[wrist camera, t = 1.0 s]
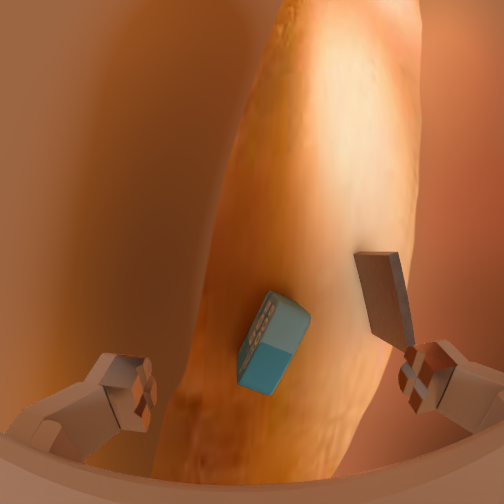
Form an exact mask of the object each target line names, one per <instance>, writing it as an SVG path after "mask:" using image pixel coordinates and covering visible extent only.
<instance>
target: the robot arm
mask: <svg viewBox="0 0 504 504" xmlns="http://www.w3.org/2000/svg"><path fill="white" fill-rule="evenodd" d="M404 358H405V361H406V362H405V363H404V364H403V365H402V367H401V368H400V371H399V375H398V381H399V386H400V389H401V391H402V392H403V394H405V395H407V396H409V401H408V402H409V404H410V405H411V407H412V409H413V410H414V412H415V413H416V414H421V413H425V412H428V411H432V410H436V409H437V411H438V412H440V413H441V414H443V415H444V416H446V417H448V418H449V419H451V420H452V421H454V422H455V423H457V424H459V425H460V426H462V427H463V428H465V429H467V430H468V431H470V432H471V433H473V434H474V435H472V436H470V437H468V438H466V439H463V440H461V441H459V442H456V443H454V444H452V445H449V446H447V447H444V448H441V449H439V450H436V451H433V452H431V453H428V454H425V455H422V456H419V457H416V458H413V459H410V460H407V461H403V462H400V463H397V464H393V465H389V466H386V467H382V468H378V469H374V470H370V471H365V472H361V473H356V474H351V475H346V476H340V477H335V478H328V479H322V480H314V481H306V482H297V483H286V484H272V485H207V484H192V483H181V482H172V481H164V480H157V479H150V478H144V477H138V476H132V475H127V474H122V473H118V472H113V471H109V470H105V469H101V468H97V467H93V466H89V465H86V464H85V463H84V462H83V461H84V460H85V459H86V458H88V457H89V456H90V455H92V454H93V453H94V452H95V451H96V450H97V449H99V448H100V447H101V446H102V445H104V444H105V443H106V442H107V441H109V439H111V438H112V437H113V436H115V435H116V434H117V433H118V432H119V431H120V429H122V430H130V431H138V432H146V431H147V428H148V425H149V422H150V419H151V415H150V412H149V411H150V410H151V409H152V408H154V406H155V403H156V397H157V389H156V382H155V379H154V378H153V377H152V376H151V375H150V373H151V371H152V365H151V361H150V359H149V358H148V357H140V356H130V355H121V354H113V353H103V354H101V356H100V357H99V359H98V360H97V362H96V363H95V365H94V366H93V368H92V370H91V371H90V373H89V374H88V376H87V377H86V379H85V380H84V382H77V383H75V384H73V385H72V386H69V387H68V388H65V389H64V390H61V391H59V392H57V393H55V394H53V395H51V396H49V397H47V398H45V399H43V400H41V401H39V402H37V403H34V404H32V405H30V406H28V407H26V408H24V409H22V410H21V412H20V413H19V415H18V416H17V417H16V419H15V420H14V421H13V423H12V424H11V426H10V427H9V429H8V430H7V431H6V433H5V434H3V433H1V432H0V504H504V373H502V372H500V371H497V370H494V369H491V368H488V367H486V366H483V365H480V364H478V363H475V362H469V361H468V360H467V359H466V358H465V357H464V356H463V355H462V354H461V353H460V352H459V351H458V350H457V349H456V348H455V347H454V346H453V345H452V344H451V343H450V342H449V341H448V340H445V339H442V340H437V341H433V342H430V343H425V344H419V345H414V346H408V348H407V349H406V351H405V354H404Z"/></svg>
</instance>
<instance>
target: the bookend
mask: <svg viewBox="0 0 504 504" xmlns="http://www.w3.org/2000/svg"><path fill="white" fill-rule="evenodd" d="M353 255H354V259H355V262H356V266H357V270H358V274H359V278H360V282H361V286H362V290H363V295H364V299H365V303H366V308H367V312H368V317H369V322H370V326H371V331H372V334H374V335H376V336H377V337H379V338H381V339H382V340H384V341H386V342H387V343H389V344H391V345H392V346H394V347H396V348H397V349H399V350H401V351H402V352H404V353H405V351H406V349H407V348H408V346H414V345H415V341H414V333H413V326H412V320H411V313H410V308H409V302H408V297H407V291H406V286H405V281H404V277H403V272H402V268H401V263H400V259H399V255H398V252H359V253H356V254H353Z"/></svg>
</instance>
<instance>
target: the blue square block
mask: <svg viewBox="0 0 504 504" xmlns="http://www.w3.org/2000/svg"><path fill="white" fill-rule="evenodd" d="M310 318H311V316H310V314H309V313H308V312H307V311H306V310H305V309H304V308H303V307H301V306H300V305H299V304H298V303H297V302H295V301H293V300H291V299H289V298H286V297H284V296H282V295H280V294H278V293H275V292H273V291H269V292H268V293H267V294H266V296H265V298H264V300H263V302H262V304H261V306H260V309H259V311H258V313H257V315H256V317H255V319H254V321H253V323H252V325H251V327H250V329H249V331H248V333H247V336H246V338H245V340H244V342H243V344H242V346H241V348H240V350H239V352H238V355H237V384H238V385H241V386H243V387H246V388H248V389H251V390H254V391H256V392H259V393H262V394H265V395H268V396H269V395H271V394H272V393H273V392H274V391H275V389H276V387H277V385H278V384H279V382H280V380H281V378H282V376H283V375H284V373H285V371H286V369H287V367H288V365H289V363H290V361H291V360H292V358H293V356H294V354H295V352H296V350H297V348H298V346H299V344H300V342H301V340H302V338H303V336H304V334H305V332H306V330H307V328H308V326H309V323H310Z"/></svg>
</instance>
